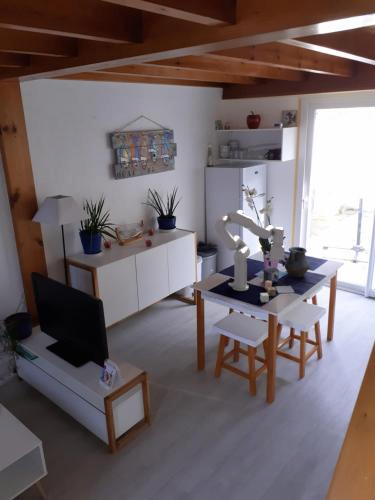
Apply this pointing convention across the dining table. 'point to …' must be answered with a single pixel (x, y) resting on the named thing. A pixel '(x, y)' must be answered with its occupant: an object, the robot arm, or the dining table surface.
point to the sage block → (264, 297)
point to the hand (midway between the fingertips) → (276, 266)
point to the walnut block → (271, 291)
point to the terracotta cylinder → (268, 284)
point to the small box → (271, 275)
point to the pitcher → (297, 262)
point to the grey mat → (284, 289)
